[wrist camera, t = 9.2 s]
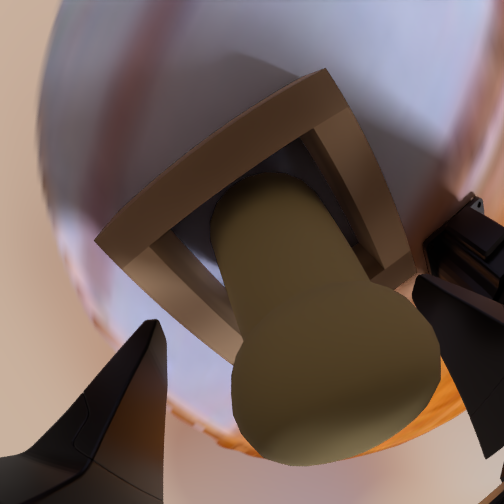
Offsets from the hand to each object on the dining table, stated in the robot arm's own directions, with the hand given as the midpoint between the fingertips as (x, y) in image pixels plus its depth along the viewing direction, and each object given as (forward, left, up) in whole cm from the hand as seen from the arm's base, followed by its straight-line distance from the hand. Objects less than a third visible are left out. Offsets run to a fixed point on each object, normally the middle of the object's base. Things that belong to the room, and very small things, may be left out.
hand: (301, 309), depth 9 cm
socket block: (0, 0, -6) cm, 6 cm away
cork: (0, 0, -6) cm, 7 cm away
